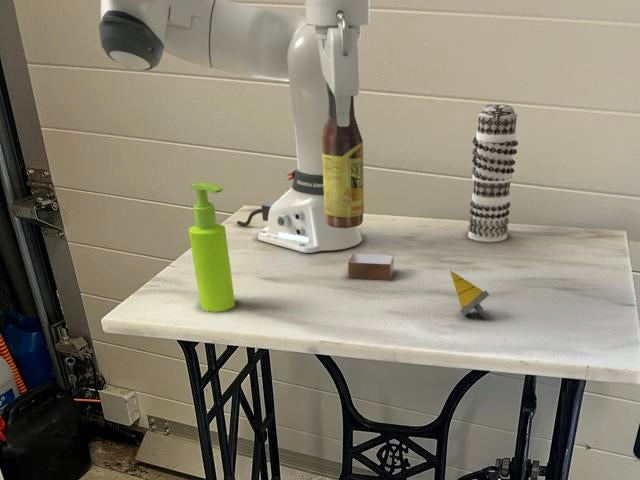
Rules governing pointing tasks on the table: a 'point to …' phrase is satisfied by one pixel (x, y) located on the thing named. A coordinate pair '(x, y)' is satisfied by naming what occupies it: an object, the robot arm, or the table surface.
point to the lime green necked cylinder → (210, 253)
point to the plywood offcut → (371, 266)
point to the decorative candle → (492, 173)
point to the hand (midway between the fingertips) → (341, 122)
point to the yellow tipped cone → (469, 295)
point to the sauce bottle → (342, 169)
